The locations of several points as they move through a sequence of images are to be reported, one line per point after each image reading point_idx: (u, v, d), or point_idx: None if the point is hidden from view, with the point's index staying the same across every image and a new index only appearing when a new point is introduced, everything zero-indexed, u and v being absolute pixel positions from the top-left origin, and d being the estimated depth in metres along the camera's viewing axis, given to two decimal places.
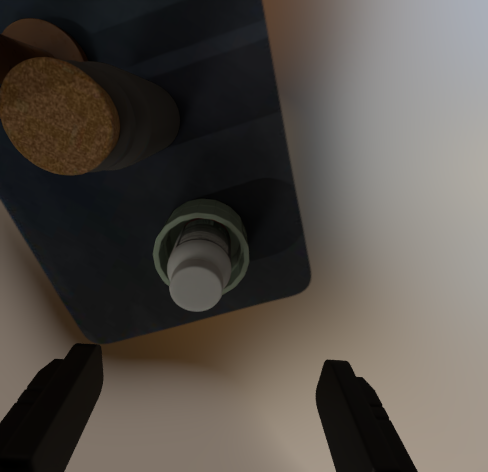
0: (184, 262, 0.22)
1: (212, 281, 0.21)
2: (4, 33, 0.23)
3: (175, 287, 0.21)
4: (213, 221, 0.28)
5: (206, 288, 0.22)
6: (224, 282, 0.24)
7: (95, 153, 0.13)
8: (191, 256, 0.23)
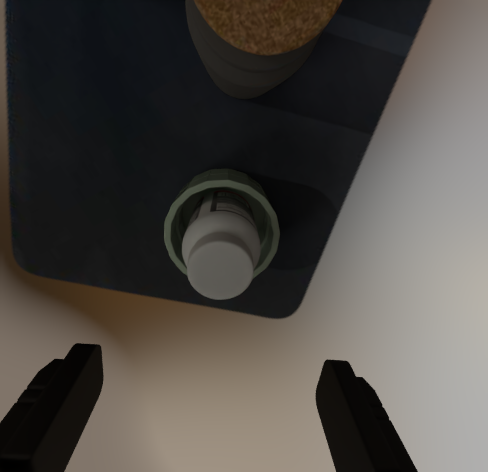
0: (222, 234, 0.17)
1: (244, 271, 0.17)
2: None
3: (199, 257, 0.17)
4: (248, 204, 0.24)
5: (232, 276, 0.17)
6: None
7: (284, 35, 0.09)
8: (228, 231, 0.18)
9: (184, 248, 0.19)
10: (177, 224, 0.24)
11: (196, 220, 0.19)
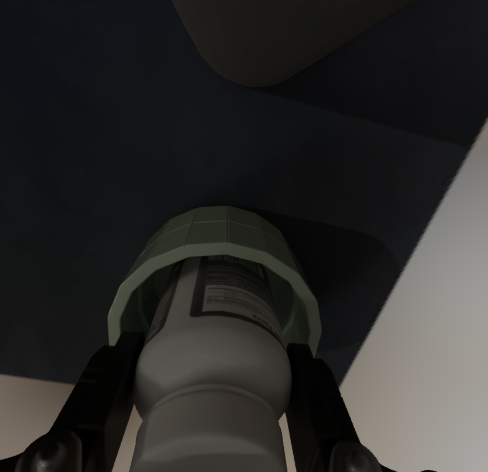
0: (214, 396, 0.07)
1: None
2: None
3: (156, 468, 0.07)
4: (261, 267, 0.14)
5: None
6: None
7: None
8: (227, 370, 0.08)
9: (135, 394, 0.09)
10: (140, 303, 0.14)
11: (160, 336, 0.09)
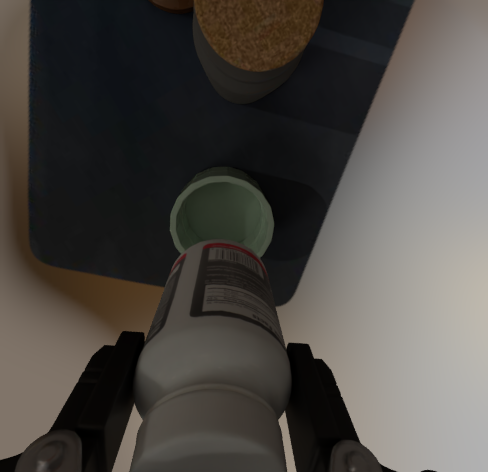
0: (214, 396, 0.07)
1: None
2: None
3: (156, 467, 0.07)
4: (261, 267, 0.14)
5: None
6: None
7: (271, 56, 0.11)
8: (227, 369, 0.08)
9: (135, 394, 0.09)
10: (181, 217, 0.26)
11: (160, 336, 0.09)
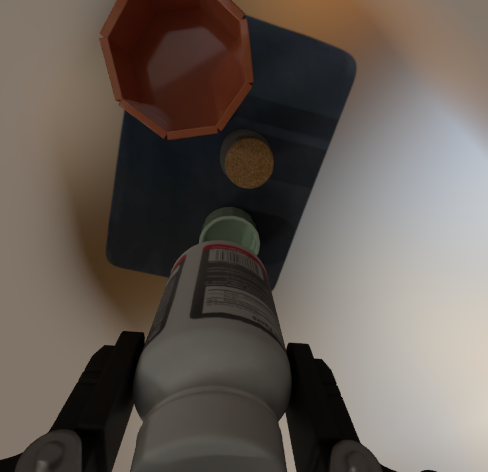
0: (214, 398, 0.07)
1: None
2: None
3: (156, 470, 0.07)
4: (261, 268, 0.14)
5: None
6: None
7: (254, 183, 0.28)
8: (227, 371, 0.08)
9: (135, 396, 0.09)
10: (204, 237, 0.43)
11: (160, 338, 0.09)
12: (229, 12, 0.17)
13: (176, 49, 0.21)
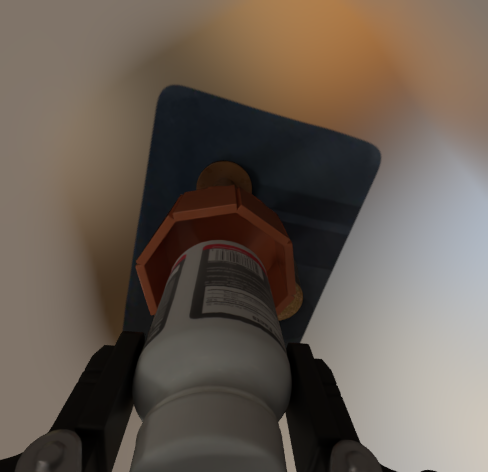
0: (214, 398, 0.07)
1: None
2: (218, 163, 0.35)
3: (156, 470, 0.07)
4: (261, 268, 0.14)
5: None
6: None
7: (282, 316, 0.27)
8: (227, 371, 0.08)
9: (135, 396, 0.09)
10: None
11: (160, 338, 0.09)
12: (273, 238, 0.16)
13: (208, 228, 0.20)
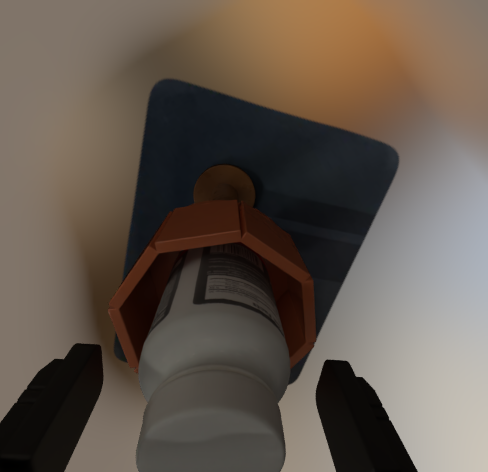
0: (217, 375, 0.08)
1: (265, 460, 0.08)
2: (217, 167, 0.32)
3: (163, 441, 0.07)
4: (261, 261, 0.15)
5: (238, 469, 0.08)
6: None
7: None
8: (228, 353, 0.09)
9: (141, 377, 0.10)
10: None
11: (165, 322, 0.09)
12: None
13: None
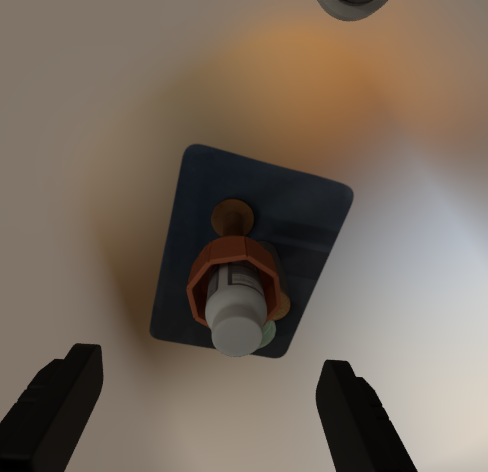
0: (239, 308, 0.22)
1: (255, 337, 0.22)
2: (228, 200, 0.46)
3: (222, 328, 0.22)
4: (255, 267, 0.29)
5: (246, 340, 0.22)
6: None
7: (275, 318, 0.38)
8: (242, 302, 0.23)
9: (207, 314, 0.24)
10: None
11: (217, 292, 0.24)
12: (267, 273, 0.27)
13: None
